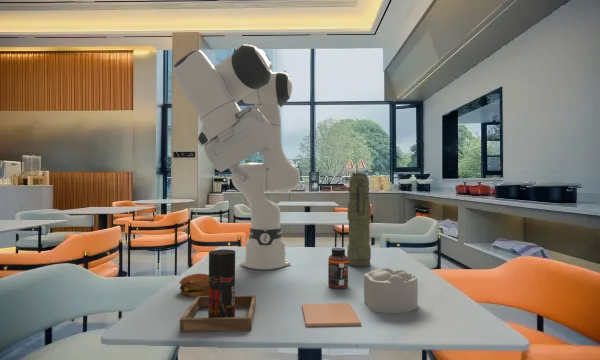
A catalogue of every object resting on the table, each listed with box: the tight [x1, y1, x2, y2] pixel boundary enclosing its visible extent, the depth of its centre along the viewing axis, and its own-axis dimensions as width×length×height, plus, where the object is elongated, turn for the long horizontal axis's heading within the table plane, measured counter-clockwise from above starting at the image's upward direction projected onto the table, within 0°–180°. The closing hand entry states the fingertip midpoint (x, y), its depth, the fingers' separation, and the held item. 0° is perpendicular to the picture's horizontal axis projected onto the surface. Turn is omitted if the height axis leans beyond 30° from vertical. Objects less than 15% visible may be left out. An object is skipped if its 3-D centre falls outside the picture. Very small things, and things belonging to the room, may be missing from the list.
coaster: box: [302, 302, 362, 328], centre depth 78 cm, size 12×12×1 cm
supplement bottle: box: [327, 247, 349, 290], centre depth 100 cm, size 6×6×11 cm
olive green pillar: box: [346, 173, 372, 268], centre depth 128 cm, size 9×12×35 cm
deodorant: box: [207, 249, 236, 318], centre depth 76 cm, size 6×6×15 cm
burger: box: [179, 273, 209, 298], centre depth 94 cm, size 10×9×5 cm
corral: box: [179, 294, 257, 333], centre depth 76 cm, size 15×15×2 cm
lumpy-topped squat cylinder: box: [363, 266, 419, 314], centre depth 85 cm, size 10×13×9 cm
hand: (258, 174), depth 76 cm, fingers open, 8 cm apart
